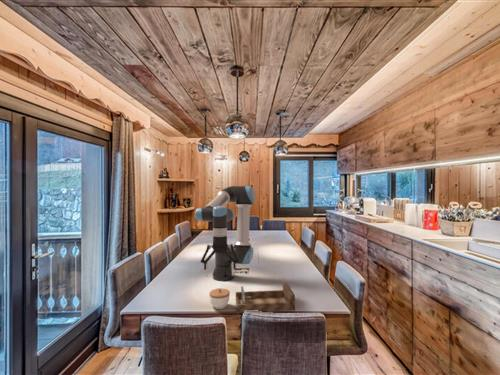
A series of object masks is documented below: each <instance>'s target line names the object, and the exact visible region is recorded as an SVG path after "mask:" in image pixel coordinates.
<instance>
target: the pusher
mask: <svg viewBox="0 0 500 375" xmlns="http://www.w3.org/2000/svg"><path fill="white" fill-rule="evenodd" d="M240 292H241V301H242V304H245V299H251V296H245V294H244V292H245V290H244V286H240Z"/></svg>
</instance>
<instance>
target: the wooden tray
mask: <svg viewBox="0 0 500 375" xmlns="http://www.w3.org/2000/svg"><path fill="white" fill-rule="evenodd" d="M244 294H245V296H251V299H245V304H242V301H241V291H236V292H235V304H236V311H237V312H236V313H237V314H244V313H243V312H244V311H245V310H258V311H268V312H283V311H285V310H288V311H296V294H295V292H294V290H292V288H291V287H290V285H289V284H288V282H282V289H278V290H276V289H275V290H274V289H273V290H252V291H250V290H249V291H244Z"/></svg>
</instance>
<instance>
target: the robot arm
mask: <svg viewBox="0 0 500 375" xmlns="http://www.w3.org/2000/svg"><path fill="white" fill-rule="evenodd" d="M255 199H256V195H255V190H254V188H253V187H252V186H248V185H237V186H235V185H230V186H228V187H225V188H223V189H221V190H220V191H218V193H217V194H216V197H214V198H213V199H212V200H211V201H209V202H208V204H206V205H205V206H204V207H203V208H202V207H200V208H198V207H197V208H196V210H195V211H194V218H195V220H196V221H198V222H212V244H209V243H207V245H206V249H205V251H204V253H203V255H202V257H201V259H200V263H201V264H203V269H204V270H205V271H206V272H205V274H206V275H205V276H206V277H209V261H210V260H211V258H213V256H214V255H215V256H214V257H215V258H214V262H215V263H214V264H215V265H214V266H215V267H214V269H213V272H212V279H213V280H215V281H218V282H219V281H220V282H221V281H222V282H224V281H225V282H226V281H231V280H233V279H234V278H235V272H234V270H235V269H236V266H237V264H238V265H240V264H241V265H249V264H251V262H252V260H253V257H254V247H252V244H251V243H250V219H251V218H250V216H251V214H250V213H251V208H252V206H253V203H255V202H256V200H255ZM228 203H235V206H236V207H237V221H236V222H237V223H236V242H234V244H233V243H229V242H228V222H232V220H233V219H234V218H235V216H236V215H235V212H234V210H233V209H231V208H229V207H228V208H227V207H226V206H224V205H226V204H228ZM211 248H212V251H211V253H210V254H209V255H208V256H207V254H208V253H209V251H210V250H211Z"/></svg>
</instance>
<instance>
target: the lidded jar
mask: <svg viewBox="0 0 500 375" xmlns="http://www.w3.org/2000/svg"><path fill="white" fill-rule="evenodd" d="M230 295H231V294H230V290H229V289H227V288H223V287H221V288H215V289H214V288H213V289H212V290H210V291H209V302H210V305H211V306H212V307H213V308H214V309H216V310H222V309H223V310H224V309H225V308H226V306H227V305H228V303H229V301H230Z"/></svg>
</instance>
